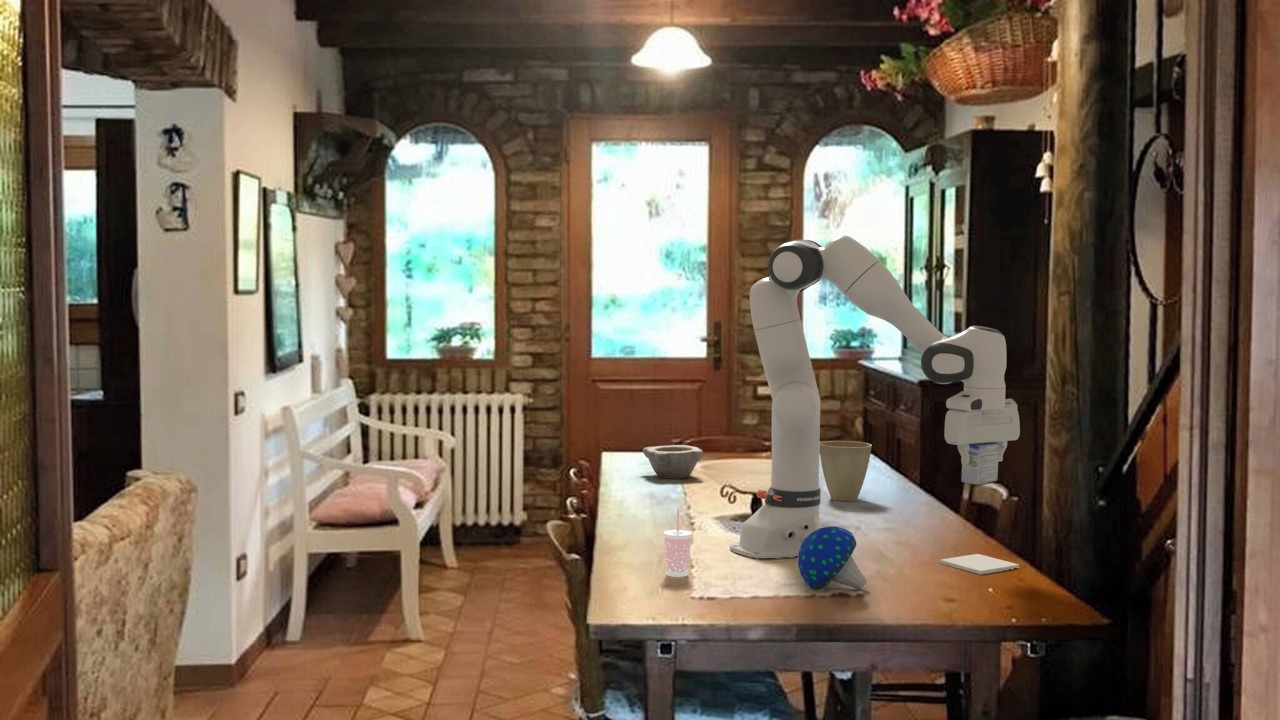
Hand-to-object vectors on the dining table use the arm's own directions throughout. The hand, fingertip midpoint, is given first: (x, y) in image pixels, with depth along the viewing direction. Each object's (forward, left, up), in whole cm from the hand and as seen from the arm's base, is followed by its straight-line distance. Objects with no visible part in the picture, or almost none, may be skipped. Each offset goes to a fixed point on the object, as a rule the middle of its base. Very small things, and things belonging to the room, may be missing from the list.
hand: (982, 462), depth 272 cm
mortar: (+6, +133, -23) cm, 135 cm away
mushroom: (-42, +1, -23) cm, 48 cm away
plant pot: (+28, +77, -23) cm, 85 cm away
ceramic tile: (0, 0, -23) cm, 23 cm away
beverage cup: (-63, +26, -23) cm, 72 cm away
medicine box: (0, 0, -4) cm, 5 cm away
